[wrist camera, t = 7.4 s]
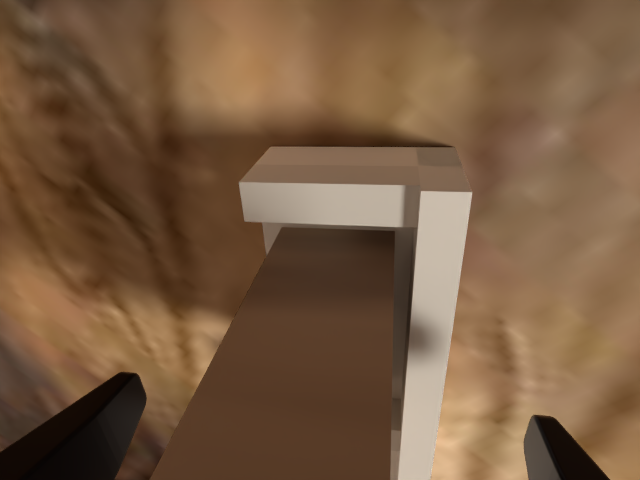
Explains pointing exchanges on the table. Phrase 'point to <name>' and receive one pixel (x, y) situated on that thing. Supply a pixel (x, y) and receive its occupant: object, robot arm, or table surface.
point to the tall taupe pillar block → (299, 369)
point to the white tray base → (409, 258)
